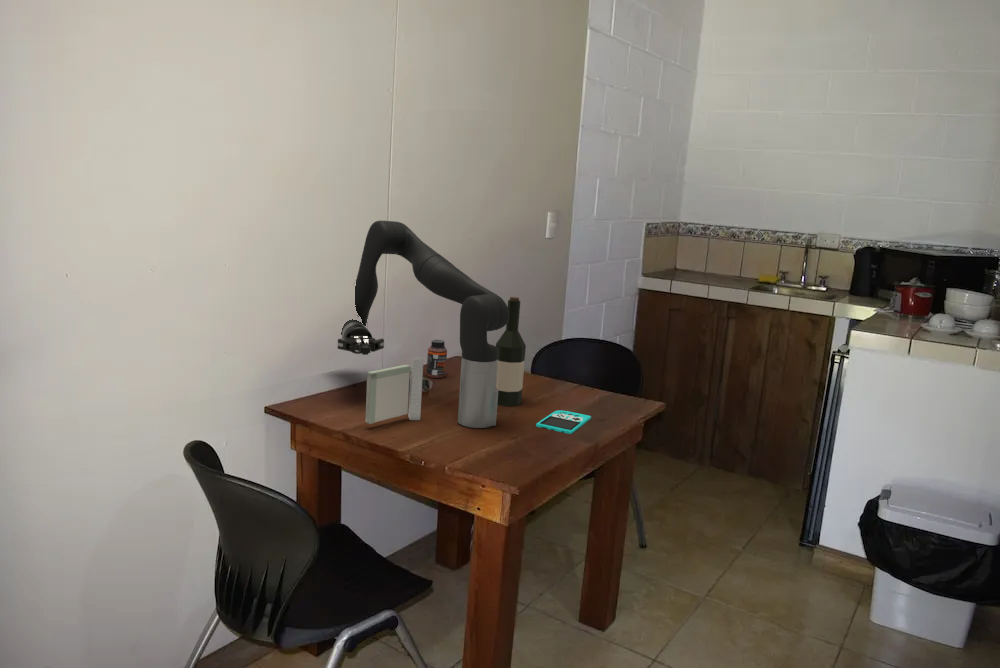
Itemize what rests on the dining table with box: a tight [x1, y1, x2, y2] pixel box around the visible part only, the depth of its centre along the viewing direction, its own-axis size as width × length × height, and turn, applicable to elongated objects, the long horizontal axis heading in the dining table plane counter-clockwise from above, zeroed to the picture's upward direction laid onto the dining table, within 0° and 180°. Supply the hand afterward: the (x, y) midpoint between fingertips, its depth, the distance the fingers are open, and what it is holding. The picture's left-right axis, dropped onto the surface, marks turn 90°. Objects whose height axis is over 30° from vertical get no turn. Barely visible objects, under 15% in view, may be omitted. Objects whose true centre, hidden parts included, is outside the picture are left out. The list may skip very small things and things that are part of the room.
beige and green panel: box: [364, 364, 411, 425], centre depth 192 cm, size 13×2×13 cm, turn 140°
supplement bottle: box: [426, 339, 448, 379], centre depth 240 cm, size 6×6×11 cm
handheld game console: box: [535, 409, 592, 435], centre depth 205 cm, size 10×16×1 cm, turn 155°
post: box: [407, 356, 424, 421], centre depth 198 cm, size 3×3×16 cm
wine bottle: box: [495, 296, 526, 407], centre depth 217 cm, size 8×8×30 cm
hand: (365, 350), depth 200 cm, fingers closed
